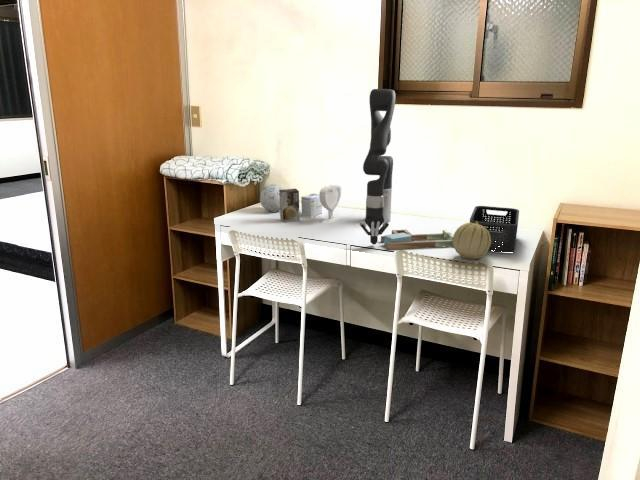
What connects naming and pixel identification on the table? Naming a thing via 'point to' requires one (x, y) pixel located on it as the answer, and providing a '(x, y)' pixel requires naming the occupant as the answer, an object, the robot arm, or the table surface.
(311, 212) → the light bulb box
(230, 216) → the table surface
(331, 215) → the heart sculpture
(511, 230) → the storage bin
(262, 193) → the puzzle ball
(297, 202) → the coffee box
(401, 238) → the block
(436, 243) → the maze
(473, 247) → the cantaloupe
